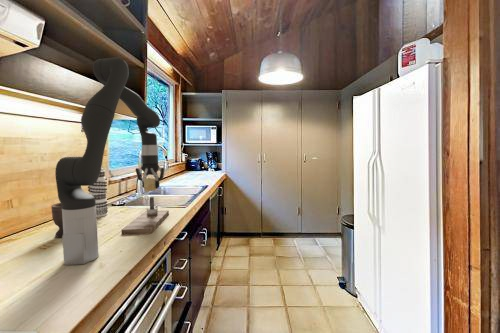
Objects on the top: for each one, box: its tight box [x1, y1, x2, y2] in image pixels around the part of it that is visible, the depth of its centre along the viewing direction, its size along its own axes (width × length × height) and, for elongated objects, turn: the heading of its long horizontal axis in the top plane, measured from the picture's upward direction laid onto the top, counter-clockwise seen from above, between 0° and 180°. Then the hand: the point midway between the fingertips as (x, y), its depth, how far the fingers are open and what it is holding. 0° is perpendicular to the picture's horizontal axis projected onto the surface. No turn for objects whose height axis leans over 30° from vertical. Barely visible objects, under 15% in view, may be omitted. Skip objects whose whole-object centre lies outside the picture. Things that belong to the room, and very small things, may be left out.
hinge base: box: [120, 196, 170, 235], centre depth 128 cm, size 32×12×11 cm, turn 4°
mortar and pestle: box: [50, 202, 64, 239], centre depth 111 cm, size 12×9×20 cm
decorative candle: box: [87, 167, 109, 218], centre depth 143 cm, size 9×9×25 cm
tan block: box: [143, 176, 159, 194], centre depth 131 cm, size 11×5×6 cm, turn 4°
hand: (151, 188), depth 134 cm, fingers closed on tan block, 5 cm apart
